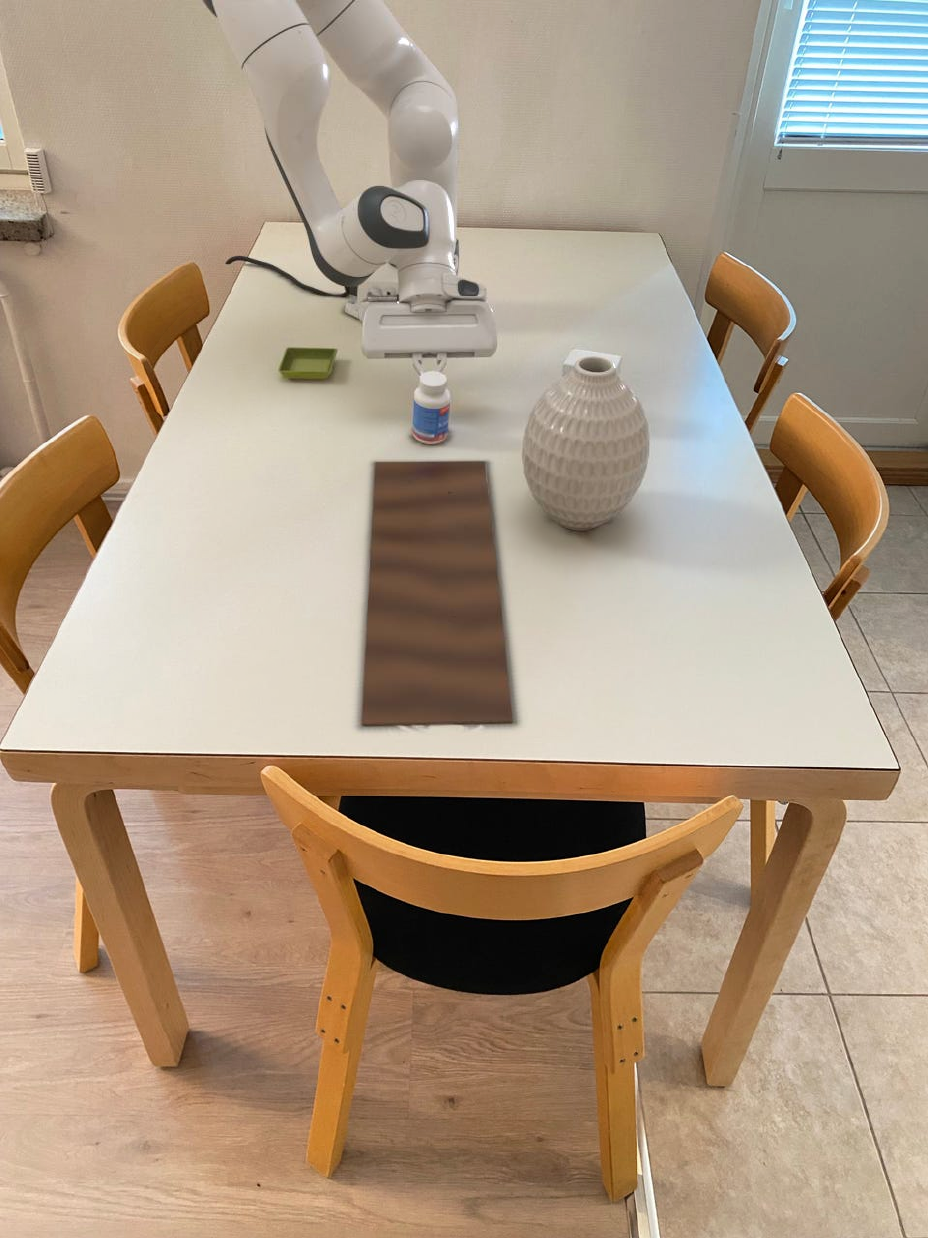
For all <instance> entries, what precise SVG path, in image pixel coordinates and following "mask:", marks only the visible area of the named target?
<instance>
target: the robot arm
mask: <svg viewBox="0 0 928 1238" xmlns="http://www.w3.org/2000/svg"><path fill="white" fill-rule="evenodd" d="M202 2H203V4H204V5H205V7H206V8H207V9H208V10H209V12H210V13H211V14H212V15H213V16H214V17H215V18H217V20H218V23H219V25H220V28H221V30H222V33H223V35H224V37H225V39H226V41H227V44H228V46H229V48H230V50H231V52H232V54H233V56H234V59H235V60H236V62H237V64H238V65H239V67H240V69H241V71H242V72H243V74H244V77H245V78H246V80H247V82H248V84H249V86H250V88H251V90H252V93H253V95H254V96H255V101H256V102H257V105H258V109H259V111H260V115H261V117H262V121H263V125H264V133H265V137H266V141H267V144H268V146H269V149H270V151H271V154H272V157H273V159H274V162H275V164H276V166H277V169H278V171H279V172H280V175H281V177H282V179H283V181H284V184H285V186H286V189H287V190H288V192H289V195H290V197H291V200H292V201H293V203H294V205H295V207H296V210H297V212H298V214H299V216H300V219H301V221H302V223H303V226H304V229H305V232H306V235H307V238H308V243H309V247H310V248H309V249H310V251H311V256H312V258H313V260H314V263H315V265H316V267H317V269H318V270H319V271H320V272H321V274H322V275H323V276H324V277H325V278H327V279H328V280H329V281H331V282H332V283H334V284H336V285H337V286H341V287H344V290H345V291H344V292H343V293H339V294H333V293H329V292H325V291H323V290H320V289H319V288H315V287H314V286H310V285H307V284H304V283H302V282H300V281H299V280H298V279H297V278H295V277H294V276H293V275H291V274H290V273H288V272H287V271H284V270H283V269H281V268H280V267H278V266H276V265H274V264H272V263H269V262H266V261H262V260H259V259H255V258H252V257H250V256H249V257H248V256H244V255H235V256H232V257H230V258H228V259H227V260H226V261H225V263H224V264H225V265H231V264H232V263H234V262H238V261H242V262H247V263H250V264H254V265H256V266H260V267H263V268H266V269H269V270H271V271H274V272H276V273H277V274H279V275H281V276H282V277H284V278H286V279H287V280H289V281H290V282H291V283H293V284H294V285H295V286H297V287H298V288H300V289H302V290H304V291H307V292H310V293H312V294H315V295H318V296H322V297H334V298H335V297H336V298H347V297H348V296H352V297H351V298H350V299H349V300H348V301H346V304H345V308H344V312H345V313H346V314H348V315H350V316H351V317H353V318H356V319H358V320H359V322H360V323H361V324H362V326H361V338H360V339H361V342H360V344H361V345H360V348H361V353H362V355H364V357H365V358H366V359H368V360H387V359H388V360H389V359H390V360H391V359H395V360H396V359H397V360H398V359H412V366H413V368H414V369H415V371H416V373H417V375H418V376H419V377H420V376H421V374H423V373H425V372H426V371H425V370H424V368H423V366H422V364H423V359H436V364H437V365H438V366H437V368H436V369H435V371H436V372H440V373H442V374H443V371H444V369H445V368H446V365H447V361H448V359H456V358H457V359H461V358H463V359H465V358H468V359H469V358H471V359H472V358H492V357H493V355H494V354H495V353H496V351H497V350H498V336H497V335H498V333H497V326H496V320H495V315H494V311H493V309H492V307H491V306H490V304H489V303H487V300H488V290H487V285H485V284H483V283H481V282H477V281H474V280H472V279H467V278H465V277H461V276H459V269H460V268H459V265H460V240H459V239H458V171H459V170H458V169H459V168H458V166H459V165H458V164H459V114H458V102H457V97H456V94H455V91H454V90H453V89H452V87H451V85H450V84H449V83H448V82H447V79H445V78H444V76H443V75H442V73H440V71H439V70H438V69H437V67H436V65H434V64H433V63H432V61H431V60H430V59H429V58H428V56H427V55H426V54H425V53H424V51H422V50H421V48H420V47H419V46H418V45H417V43H416V42H415V41H414V40H413V39H412V38H411V37H410V36H409V34H408V33H407V32H406V31H405V30H404V29H403V27H402V26H401V25H400V23H399V22H398V20H397V19H396V17H395V16H394V15H393V13H392V12H391V11H390V9H389V7H388V6H387V5H386V4H385V2H384V0H202ZM324 50H325V51H324ZM325 52H326V53H327V55H328V56H329V57H330V58H331V59H332V61H333V62H334V63H335V64H336V66H337V67H338V68H339V70H340V71H341V72H342V73H343V74H344V76H345V77H346V78H347V80H348V82H349V83H351V84H352V85H353V86H355V87H356V88H358V89H359V91H361V92H362V93H363V94H364V96H366V97H367V98H368V99H369V100H370V101H371V102H372V104H374V105H375V107H377V108H378V110H379V111H380V112H381V113H382V114H383V115H384V117H385V118H386V120H387V121H388V122H387V139H388V141H387V142H388V158H389V174H390V186H391V187H389V186H385V185H373V186H371V187H369V188H367V189H365V190H363V191H362V192H360V194H359V195H357V196H356V197H354V198H353V199H352V200H351V201H349V203H348V204H346V205H345V207H343V208H342V207H341V205H340V203H339V201H338V198H337V196H336V193H335V192H334V190H333V187H332V185H331V183H330V181H329V178H328V176H327V173H326V171H325V169H324V167H323V165H322V162H321V159H320V155H319V150H318V132H319V127H320V122H321V118H322V115H323V112H324V109H325V106H326V104H327V101H328V98H329V93H330V87H331V69H330V66H329V63H328V59H327V57H326V53H325Z"/></svg>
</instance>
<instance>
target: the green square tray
mask: <svg viewBox="0 0 928 1238" xmlns="http://www.w3.org/2000/svg"><path fill="white" fill-rule="evenodd" d="M337 352H338V348H334V347H333V348H330V347H297V346H296V347H295V346H294V347H293V346H291V347H286V349H285V351H284V352H283V355H282V359H281V361H280V364H279V367H278V370H277V371H278V373H280V374H281V375H282V376H283V377H284V378H286V379H290V380H326V379H327V378H328V377H330V375H331V373H332V371H333V367H334V363H335V360H336V356H337Z"/></svg>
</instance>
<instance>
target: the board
mask: <svg viewBox="0 0 928 1238" xmlns="http://www.w3.org/2000/svg"><path fill="white" fill-rule="evenodd" d="M370 540H371V541H370V555H369V558H370V559H369V575H368V576H369V577H368V578H369V579H368V592H367V593H368V595H367V615H366V632H365V633H366V634H365V652H364V653H365V654H364V656H365V657H364V669H363V670H364V673H363V687H362V688H363V691H362V692H363V693H362V707H361V708H362V710H361V726H391V725H392V726H393V725H394V726H395V725H396V726H397V725H399V726H400V725H446V724H451V725H452V724H455V725H456V724H500V723H503V724H504V723H513V722H514V718H513V708H512V697H511V689H510V688H511V687H510V679H509V671H508V670H509V669H508V662H507V652H506V643H505V641H506V640H505V633H504V623H503V615H502V614H503V613H502V606H501V605H502V604H501V595H500V586H499V577H498V565H497V557H496V547H495V539H494V530H493V520H492V509H491V501H490V492H489V482H488V472H487V462H486V461H485V460H471V461H470V460H469V461H465V460H463V461H461V460H460V461H459V460H458V461H457V460H456V461H455V460H454V461H453V460H450V461H448V460H447V461H375V462H374V480H373V499H372V517H371V536H370Z"/></svg>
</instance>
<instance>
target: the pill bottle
mask: <svg viewBox="0 0 928 1238" xmlns="http://www.w3.org/2000/svg"><path fill="white" fill-rule="evenodd" d="M447 387H448V377H447V376H446V375H445V374H444V373H443V372H442V373H440V372H436V370H430V371H425V373H423V374H421V376H419V380H418V387H417V388H416V389H415V390H414V392H413V403H412V405H413V406H412V407H413V408H412V409H413V410H412V425H411V428H412V429H411V430H412V436H413V438H414V439H415V440H417V441H418V442H420V443H423V444H427V445H434V444H435V445H436V444H439V443H441V442H443V441H445V440H446V439H447V437H448V435H449V434H448V433H449V421H450V420H449V419H450V411H451V410H450V409H451V408H450V407H451V393H450V391H449V390H448V388H447Z"/></svg>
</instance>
